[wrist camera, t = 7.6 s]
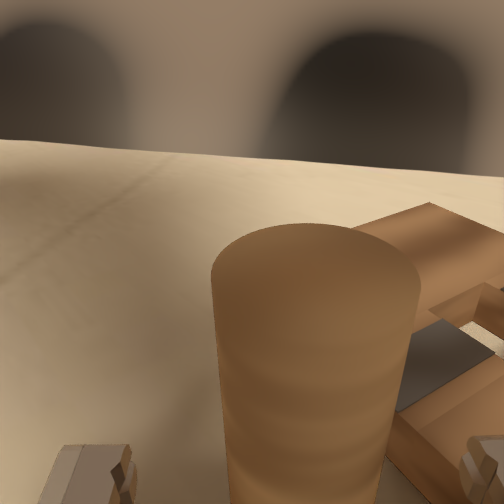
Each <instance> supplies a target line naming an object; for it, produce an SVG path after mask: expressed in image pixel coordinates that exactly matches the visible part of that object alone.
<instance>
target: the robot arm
mask: <svg viewBox="0 0 504 504" xmlns="http://www.w3.org/2000/svg"><path fill="white" fill-rule="evenodd" d="M466 446H467V448H468V450H469V452H468V453H466V454H465V455H463V456H462V457H461V460H460V464H459V475H460V480H461V484H462V487H463V490H464V492H465V495H466V497H467V499H468V500H470V501H471V502H472V503H473V504H504V435H482V436H472V437H470V438H469V439H468V441H467V444H466ZM131 455H132V451H131V448H130V445H129V444H114V445H64V446H63V448H62V449H61V450H60V452H59V453H58V456H57V458H56V461H55V463H54V465H53V468H52V470H51V473H50V475H49V477H48V480H47V482H46V485H45V487H44V489H43V492H42V494H41V497H40V499H39V502H38V504H134V500H135V495H136V487H137V470H136V466H135V464H134V463H133V462H131V461H130V459H131Z"/></svg>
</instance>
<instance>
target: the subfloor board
mask: <svg viewBox="0 0 504 504" xmlns="http://www.w3.org/2000/svg"><path fill="white" fill-rule="evenodd" d="M351 229H354V230H358V231H361V232H364V233H367V234H370V235H372V236H375V237H377V238H379V239H381V240H383V241H385V242H387V243H389V244H391V245H392V246H394V247H395V248H397V249H398V250H399V251H401V252H402V253H403V254H404V255H405V256H406V257H407V258H408V259H409V260H410V261H411V262H412V264H413V265H414V266H415V268H416V270H417V272H418V274H419V277H420V281H421V293H420V297H419V302H418V307H417V311H416V316H415V320H414V325H413V329H412V334H411V339H410V343H409V348H408V352H407V357H406V361H405V366H404V371H403V375H402V380H401V384H400V389H399V393H398V398H397V402H396V407H395V412H394V416H393V421H392V425H391V430H390V434H389V439H388V444H387V448H386V453H385V455H386V456H387V457H388V458H389V459H390V460H391V462H392V463H393V464H394V465H395V466H396V467H397V468H398V469H399V470H400V471H401V472H402V473H403V474H404V475H405V476H406V477H407V478H408V480H409V481H410V482H411V483H412V484H413V485H414V486H415V487H416V488H417V489H418V490H419V491H420V492H421V493H422V494H423V495H424V496H425V498H426V499H427V500H428V501H429V502H430V503H431V504H473V503H472V502H471V501H470V500H468V499H467V497H466V495H465V492H464V490H463V487H462V484H461V480H460V475H459V464H460V460H461V457H462V456H463V455H465V454H466V453H468V452H469V450H468V448H467V446H466V444H467V441H468V439H469V438H470V437H472V436H482V435H504V360H503V359H502V358H500V357H499V356H497V355H495V352H494V351H492V350H491V349H489V348H488V347H486V346H485V345H483V344H481V343H480V342H478V341H477V340H475V339H474V338H472V337H471V336H469V335H468V334H466V333H465V332H463V331H461V330H460V329H458V328H460V327H462V326H463V325H465V324H467V323H469V322H471V321H474V322H475V323H477V324H479V325H480V326H482V327H484V328H485V329H487V330H488V331H490V332H492V333H493V334H495V335H497V336H498V337H500V338H501V339H503V340H504V234H503V233H501V232H499V231H496V230H494V229H491V228H489V227H487V226H484V225H482V224H480V223H477V222H475V221H472V220H470V219H468V218H465V217H463V216H461V215H458V214H456V213H454V212H451V211H449V210H446V209H444V208H442V207H439V206H437V205H435V204H432V203H430V202H429V203H426V204H423V205H420V206H417V207H414V208H411V209H408V210H405V211H402V212H399V213H396V214H393V215H390V216H387V217H384V218H381V219H378V220H375V221H372V222H369V223H366V224H363V225H360V226H357V227H354V228H351Z"/></svg>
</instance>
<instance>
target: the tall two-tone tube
mask: <svg viewBox="0 0 504 504" xmlns="http://www.w3.org/2000/svg"><path fill="white" fill-rule="evenodd" d="M211 284H212V295H213V307H214V318H215V329H216V341H217V352H218V364H219V375H220V386H221V398H222V409H223V421H224V432H225V443H226V455H227V466H228V478H229V489H230V500H231V504H374V503H375V498H376V494H377V489H378V485H379V480H380V476H381V471H382V466H383V462H384V457H385V453H386V448H387V444H388V439H389V434H390V430H391V425H392V421H393V416H394V412H395V407H396V402H397V398H398V393H399V389H400V384H401V380H402V375H403V371H404V366H405V361H406V357H407V352H408V348H409V343H410V339H411V334H412V329H413V325H414V320H415V316H416V311H417V307H418V302H419V297H420V293H421V281H420V277H419V274H418V272H417V270H416V268H415V266H414V265H413V264H412V262H411V261H410V260H409V259H408V258H407V257H406V256H405V255H404V254H403V253H402V252H401V251H399V250H398V249H397V248H395V247H394V246H392V245H391V244H389V243H387V242H385V241H383V240H381V239H379V238H377V237H375V236H372V235H370V234H367V233H364V232H361V231H358V230H354V229H350V228H346V227H341V226H335V225H327V224H314V223H300V224H287V225H279V226H274V227H269V228H265V229H261V230H258V231H255V232H252V233H249V234H247V235H245V236H243V237H241V238H239V239H237V240H235V241H234V242H232V243H231V244H230V245H228V246H227V247H226V248H225V249H224V250H223V251H222V252H221V253H220V254H219V256H218V257H217V258H216V260H215V262H214V264H213V267H212V271H211Z"/></svg>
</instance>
